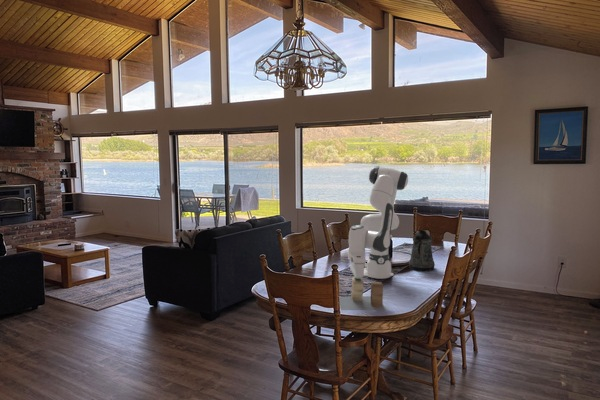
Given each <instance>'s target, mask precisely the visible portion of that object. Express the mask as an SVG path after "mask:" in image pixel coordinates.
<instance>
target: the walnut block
mask: <svg viewBox="0 0 600 400" xmlns="http://www.w3.org/2000/svg"><path fill="white" fill-rule="evenodd" d="M370 296H371V305H372V307H382V306H383V305H384V304H383V302H384V297H383V296H384V284H383V283H382V282H381V281H380V282H379V281H377V282H375V281H374V282H370Z"/></svg>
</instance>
